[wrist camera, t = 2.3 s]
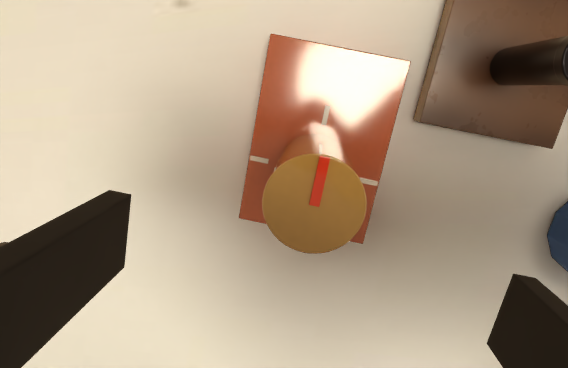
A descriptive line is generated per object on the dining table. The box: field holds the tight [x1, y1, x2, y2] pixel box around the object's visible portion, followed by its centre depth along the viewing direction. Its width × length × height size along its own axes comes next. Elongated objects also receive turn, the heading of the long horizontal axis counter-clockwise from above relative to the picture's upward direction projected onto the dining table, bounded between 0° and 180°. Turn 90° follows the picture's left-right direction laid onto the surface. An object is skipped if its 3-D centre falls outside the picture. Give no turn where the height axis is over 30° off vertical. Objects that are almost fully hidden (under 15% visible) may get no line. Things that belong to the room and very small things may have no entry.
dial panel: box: [239, 34, 411, 244], centre depth 31 cm, size 14×10×3 cm
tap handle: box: [262, 134, 367, 253], centre depth 25 cm, size 6×6×9 cm
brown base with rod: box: [414, 0, 568, 149], centre depth 25 cm, size 10×10×11 cm
